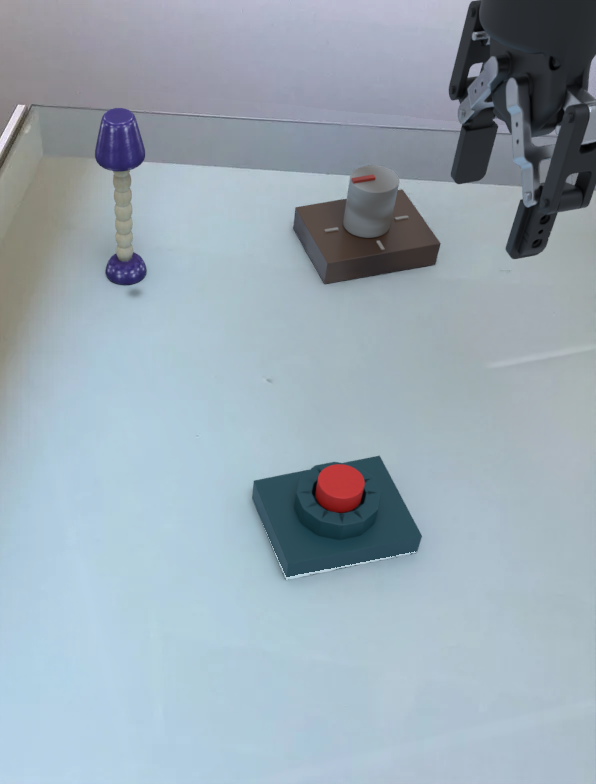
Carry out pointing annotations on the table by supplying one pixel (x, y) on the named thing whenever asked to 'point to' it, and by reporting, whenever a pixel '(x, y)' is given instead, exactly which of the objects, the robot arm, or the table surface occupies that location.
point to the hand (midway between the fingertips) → (493, 215)
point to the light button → (339, 488)
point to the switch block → (334, 520)
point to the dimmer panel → (364, 241)
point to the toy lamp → (121, 188)
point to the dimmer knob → (370, 201)
